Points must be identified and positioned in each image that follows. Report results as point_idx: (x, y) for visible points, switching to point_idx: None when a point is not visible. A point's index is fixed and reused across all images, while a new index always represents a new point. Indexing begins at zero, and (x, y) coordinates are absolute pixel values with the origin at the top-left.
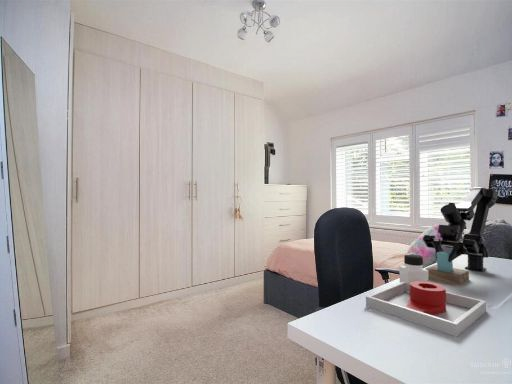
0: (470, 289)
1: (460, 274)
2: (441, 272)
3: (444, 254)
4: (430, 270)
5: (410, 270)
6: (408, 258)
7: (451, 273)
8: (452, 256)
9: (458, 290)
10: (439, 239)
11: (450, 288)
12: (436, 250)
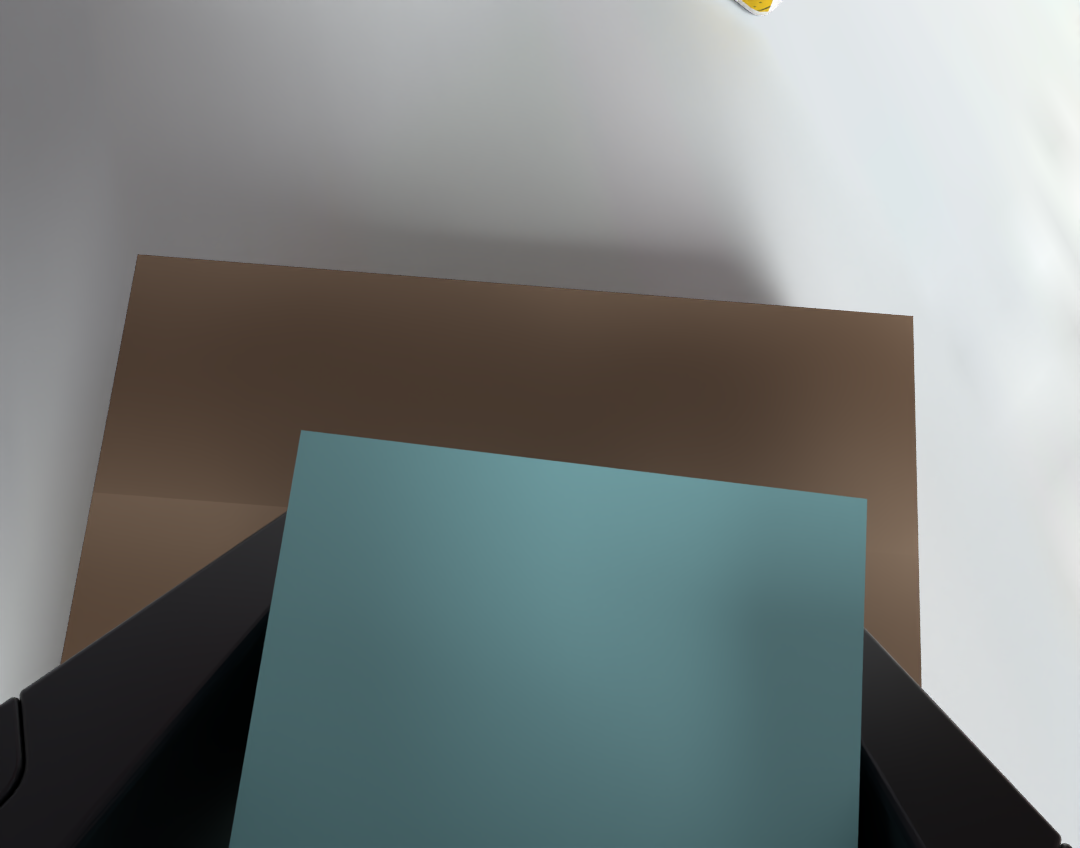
0: (26, 348)
1: (110, 462)
2: (503, 334)
3: (463, 456)
4: (753, 341)
5: None
6: None
7: (299, 404)
8: (153, 619)
9: (182, 146)
10: None
11: (304, 165)
12: (1021, 842)
